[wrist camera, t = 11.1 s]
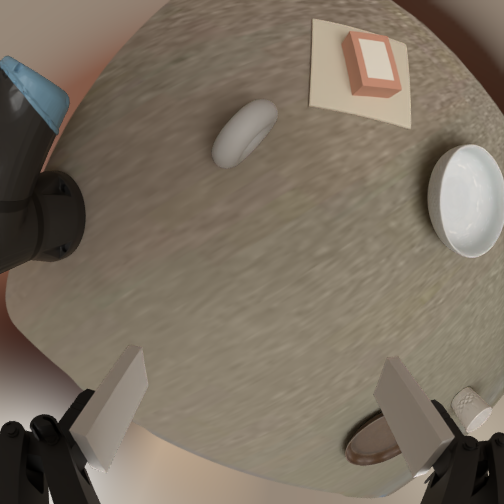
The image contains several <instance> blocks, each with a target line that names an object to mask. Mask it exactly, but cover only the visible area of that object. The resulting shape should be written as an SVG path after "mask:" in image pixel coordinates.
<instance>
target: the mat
mask: <svg viewBox="0 0 504 504" xmlns="http://www.w3.org/2000/svg"><path fill="white" fill-rule="evenodd" d="M349 31H355V32H363V33H370V34H375V33H371V32H368V31H365V30H361V29H357V28H354V27H350V26H346V25H341V24H337V23H333V22H328V21H323V20H317V19H313V20H312V50H311V74H310V93H309V107H314V108H320V109H326V110H331V111H336V112H341V113H346V114H351V115H356V116H360V117H364V118H369V119H373V120H377V121H380V122H384V123H388V124H392V125H395V126H399V127H402V128H405V129H411V99H410V79H409V66H408V56H407V48H406V44H404V43H401V42H398V41H395V40H393V39H390V38H388V39H389V42H390V45H391V49H392V52H393V55H394V59H395V63H396V67H397V71H398V75H399V79H400V83H401V88H402V90H401V91H400V92H398V93H396V94H395V95H393V96H392V97H390V98H380V97H368V96H352V92H351V87H350V81H349V76H348V72H347V67H346V62H345V58H344V54H343V49H342V45H341V44H342V42H343V41H344V39H345V37H346V36H347V34H348V33H349ZM376 35H378V34H376Z"/></svg>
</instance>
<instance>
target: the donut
mask: <svg viewBox="0 0 504 504" xmlns="http://www.w3.org/2000/svg"><path fill="white" fill-rule="evenodd" d="M277 117H278V111H277V108H276V106H275V105H274V103H273V102H271V101H269V100H267V99H258V100H254V101H252V102H250V103H248V104H246V105H245V106H244V107H242V108H241V109H240V110H239V111H238V112H237V113H236V114H235V115H234V116H233V117H232V118H231V119H230V120H229V121H228V122H227V123H226V125H225V126H224V127H223V129H222V130H221V131H220V133H219V134H218V136H217V138H216V140H215V142H214V144H213V148H212V151H211V152H212V158H213V161H214V163H215V164H216V165H217V166H219V167H221V168H225V169H226V168H232V167H235V166H236V165H238V164H239V163H241V162H242V161H243V160H244V159H245V158H246V157H247V156H248V155H249V154H250V153H251V152H252V151H253V150H254V149H255V148H256V147H257V146H258V145H259V143H260V142H261V141H262V140H263V139H264V138H265V136H266V135H267V134H268V133H269V131H270V130H271V128H272V127H273V126H274V124H275V122H276V120H277Z"/></svg>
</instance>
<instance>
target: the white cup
mask: <svg viewBox="0 0 504 504" xmlns="http://www.w3.org/2000/svg"><path fill="white" fill-rule="evenodd" d="M451 406H452V408H453V409H454V411H455V413H456V415H457V417H458V418H459V420H460V422H461V423H462V425H463V426H464V428H465V430H466V431H467V433H470V432H473V431H475V430H476V429H478V428H479V427H480V426H481V425H482V424H483V423H484V422H485V421H486V420H487V419H488V417H489V416H490V414H491V412H492V408H491V407H490V406H489V405H488V404H487V403H486V402H485V401H484V400H483V399H482V398H481V397H480V396H479V395H478V394H477V393H475V391H474V390H473V389H472V388H471V387H466V388H464V389H462V390H461V391H460V392H459V393H458V394H457V395H456V396H455V397H454V399H453V401H452V404H451Z"/></svg>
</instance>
